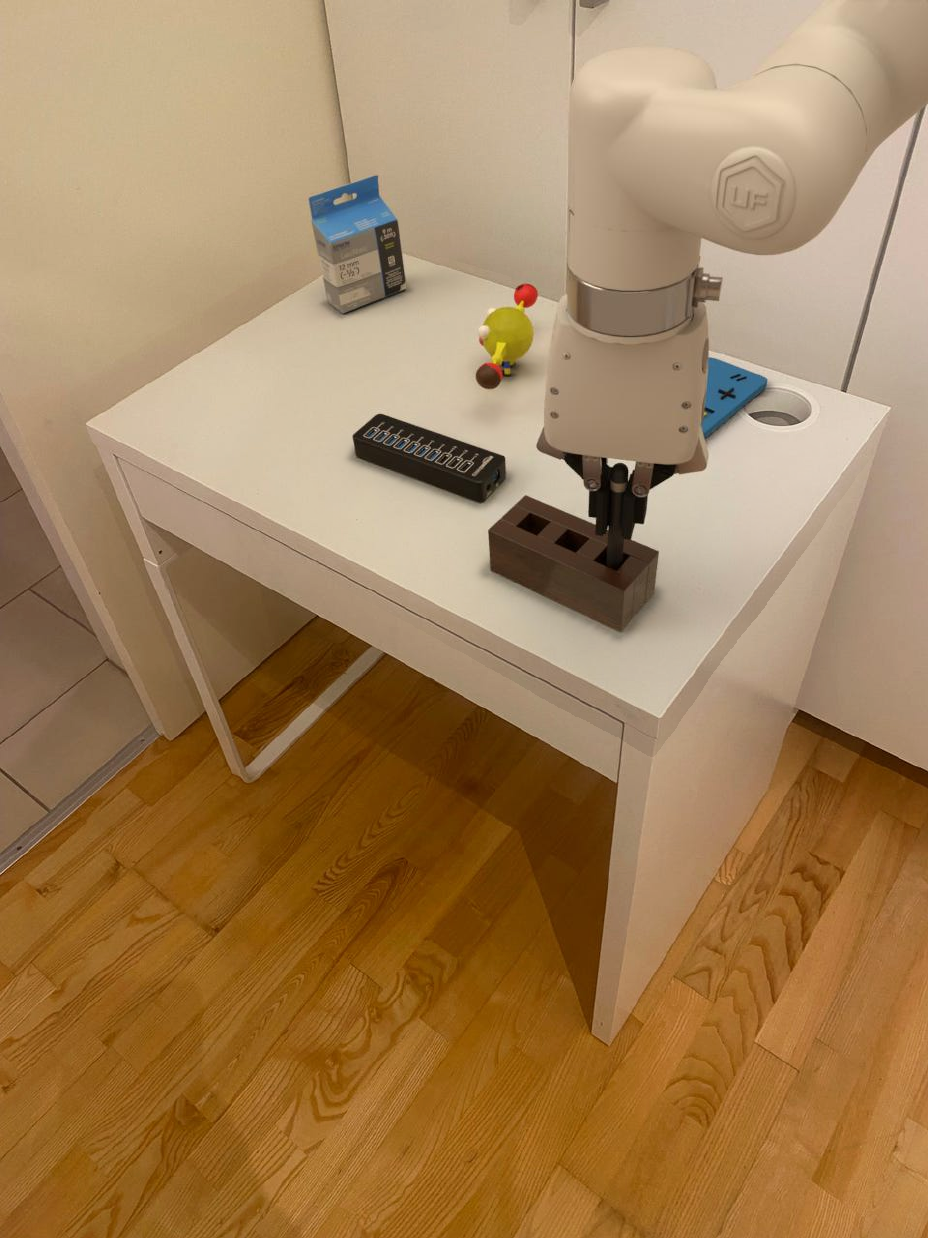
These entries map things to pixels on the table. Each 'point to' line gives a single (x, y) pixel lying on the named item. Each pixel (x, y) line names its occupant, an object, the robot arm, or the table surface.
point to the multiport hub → (430, 457)
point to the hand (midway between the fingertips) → (616, 524)
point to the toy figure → (506, 337)
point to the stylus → (616, 515)
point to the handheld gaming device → (727, 392)
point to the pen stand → (571, 562)
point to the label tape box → (357, 245)
